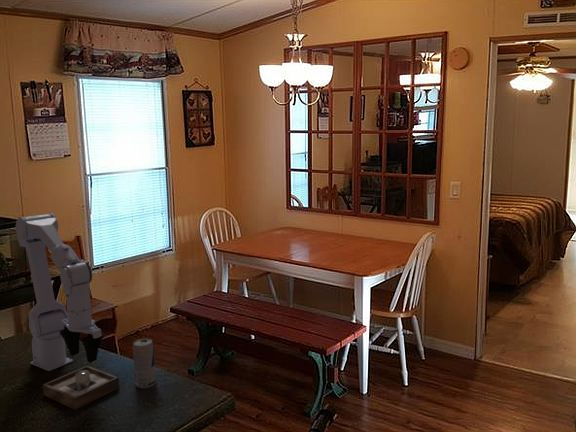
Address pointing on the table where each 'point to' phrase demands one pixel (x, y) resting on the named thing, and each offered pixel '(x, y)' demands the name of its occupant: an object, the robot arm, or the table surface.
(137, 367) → the energy drink
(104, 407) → the table surface
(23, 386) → the table surface
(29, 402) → the table surface
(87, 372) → the peg
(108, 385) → the bore box
